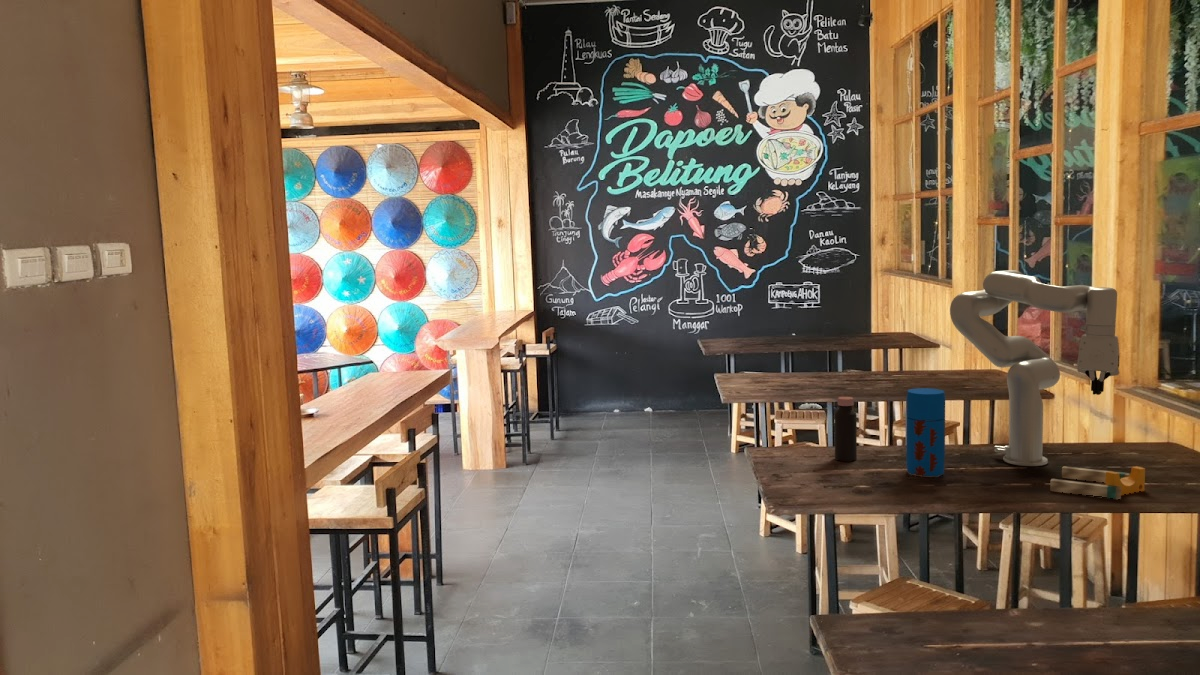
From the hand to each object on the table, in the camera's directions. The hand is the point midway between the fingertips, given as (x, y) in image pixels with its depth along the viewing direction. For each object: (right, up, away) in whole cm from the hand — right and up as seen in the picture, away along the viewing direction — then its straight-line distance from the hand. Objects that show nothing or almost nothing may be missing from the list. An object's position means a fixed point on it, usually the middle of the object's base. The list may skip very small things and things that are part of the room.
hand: (1097, 393), depth 271 cm
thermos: (-45, -25, +12) cm, 53 cm away
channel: (-6, -26, -8) cm, 28 cm away
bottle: (-64, -23, +32) cm, 75 cm away
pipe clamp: (0, -26, -14) cm, 30 cm away
